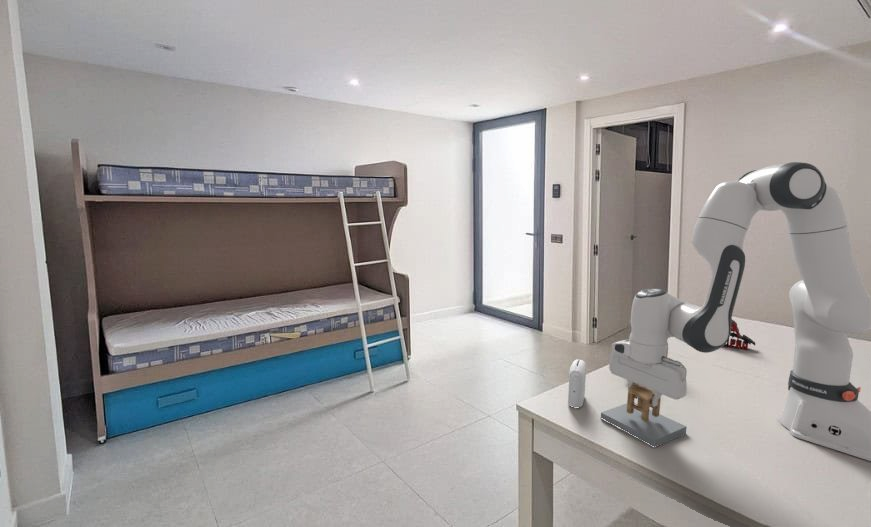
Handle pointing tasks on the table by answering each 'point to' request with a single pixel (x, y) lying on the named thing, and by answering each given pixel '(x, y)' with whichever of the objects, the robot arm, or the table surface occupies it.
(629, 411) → the wooden stool
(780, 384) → the table surface
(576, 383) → the photo printer
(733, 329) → the extruded letter emblem
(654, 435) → the slate board
